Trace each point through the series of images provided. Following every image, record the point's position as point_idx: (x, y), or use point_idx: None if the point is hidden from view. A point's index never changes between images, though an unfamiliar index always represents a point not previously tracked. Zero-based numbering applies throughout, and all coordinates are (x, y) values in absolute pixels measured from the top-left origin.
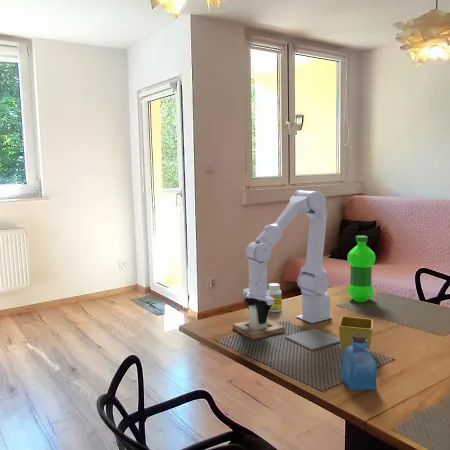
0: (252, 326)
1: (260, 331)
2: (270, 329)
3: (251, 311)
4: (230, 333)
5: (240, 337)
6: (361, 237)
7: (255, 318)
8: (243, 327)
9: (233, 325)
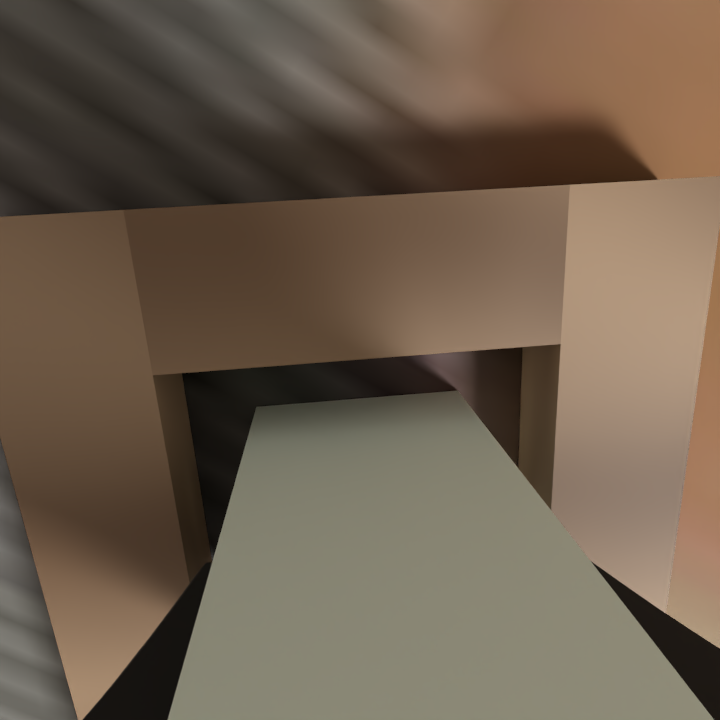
0: (371, 435)
1: (62, 437)
2: (90, 622)
3: (493, 683)
4: (497, 7)
5: (217, 69)
6: None
7: (239, 569)
8: (429, 264)
9: (686, 179)
